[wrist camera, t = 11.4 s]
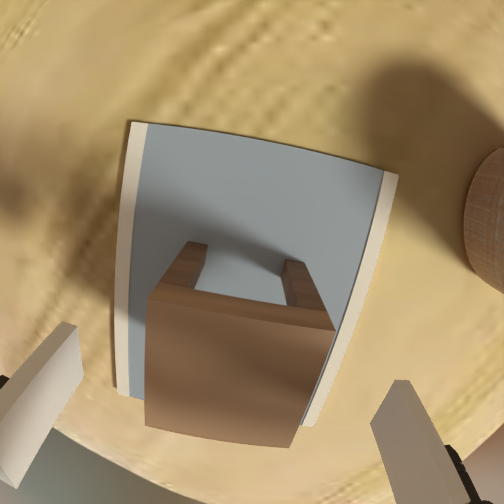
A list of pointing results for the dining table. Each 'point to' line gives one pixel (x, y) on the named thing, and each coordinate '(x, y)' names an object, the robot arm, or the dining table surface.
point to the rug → (244, 231)
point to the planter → (486, 221)
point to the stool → (232, 356)
